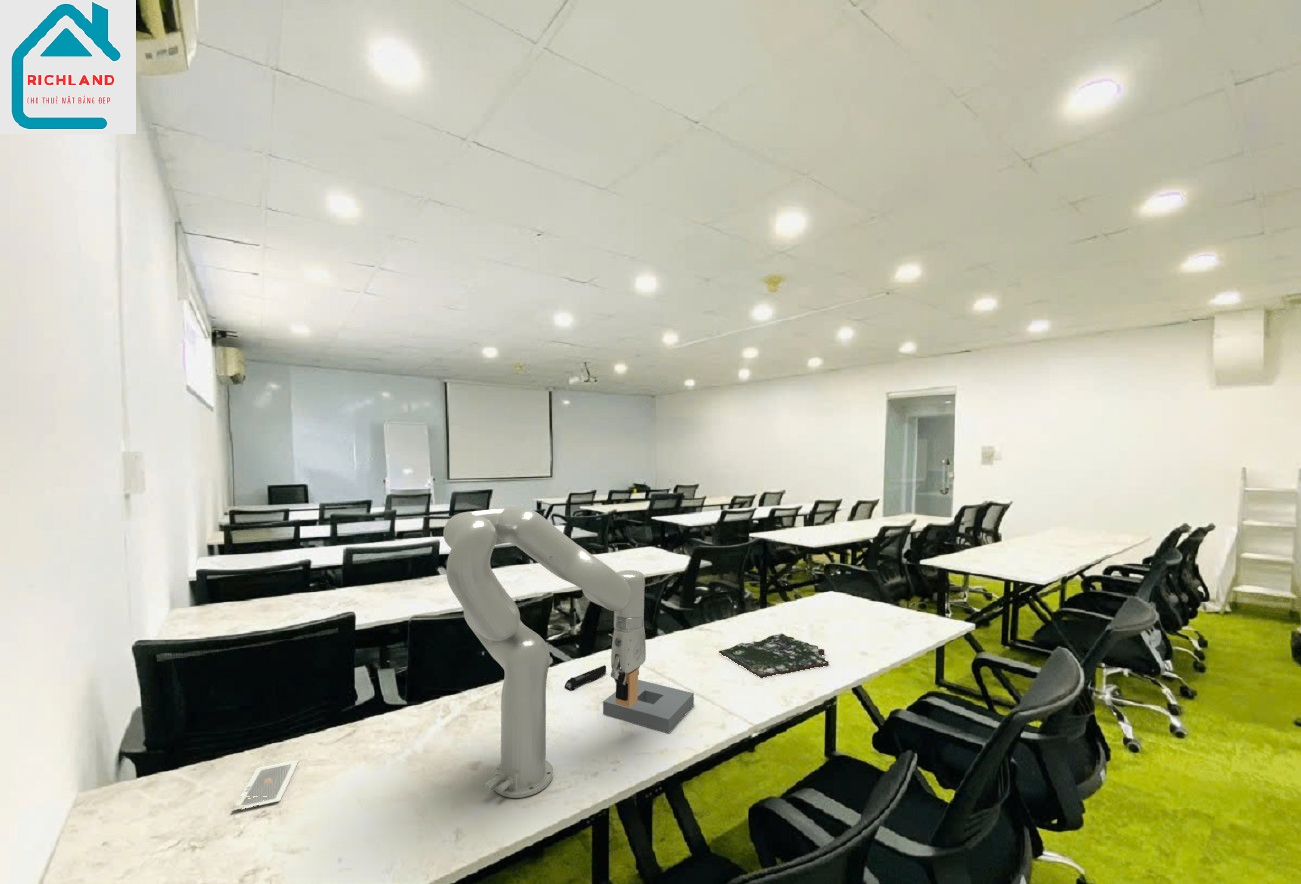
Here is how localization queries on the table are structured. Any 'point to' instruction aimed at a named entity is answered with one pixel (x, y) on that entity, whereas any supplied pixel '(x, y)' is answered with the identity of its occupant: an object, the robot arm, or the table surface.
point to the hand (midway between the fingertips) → (626, 694)
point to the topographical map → (776, 655)
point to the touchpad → (268, 784)
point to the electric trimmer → (585, 678)
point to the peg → (630, 689)
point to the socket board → (652, 707)
